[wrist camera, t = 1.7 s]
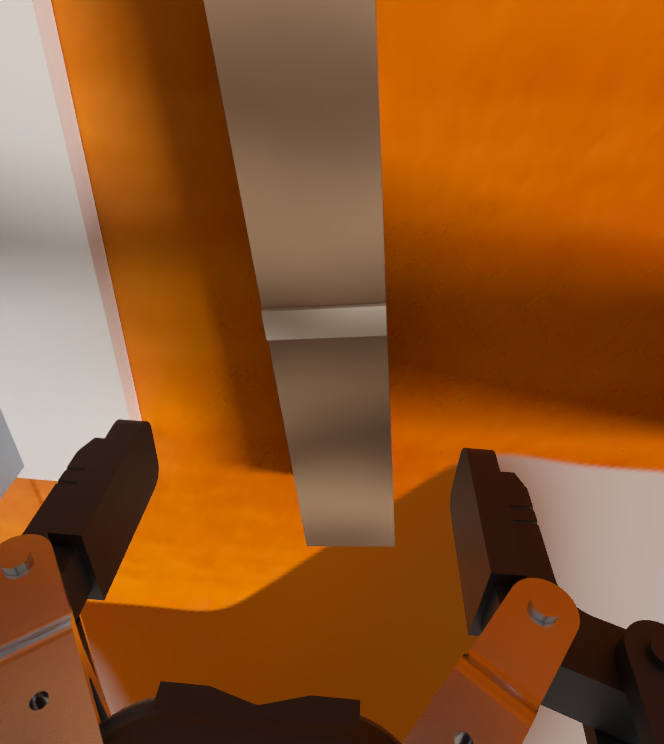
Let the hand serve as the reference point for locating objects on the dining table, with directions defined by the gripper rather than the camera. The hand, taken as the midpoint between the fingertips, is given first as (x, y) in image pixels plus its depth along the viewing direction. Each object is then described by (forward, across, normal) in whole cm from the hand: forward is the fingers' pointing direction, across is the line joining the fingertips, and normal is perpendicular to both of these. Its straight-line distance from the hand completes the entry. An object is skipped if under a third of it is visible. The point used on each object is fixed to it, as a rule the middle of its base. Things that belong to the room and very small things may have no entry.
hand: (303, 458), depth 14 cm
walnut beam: (+12, 0, 0) cm, 12 cm away
